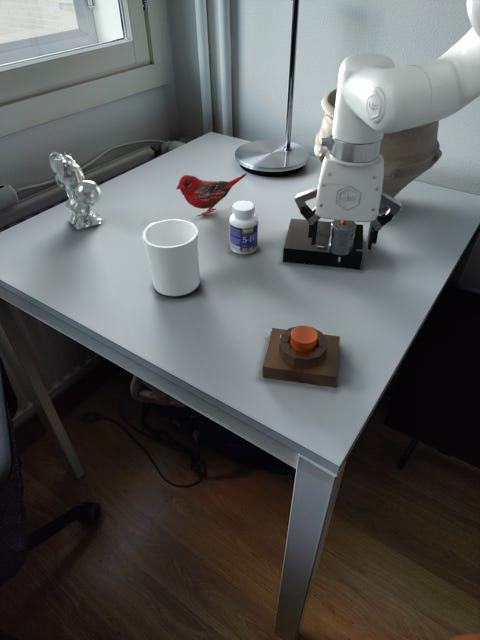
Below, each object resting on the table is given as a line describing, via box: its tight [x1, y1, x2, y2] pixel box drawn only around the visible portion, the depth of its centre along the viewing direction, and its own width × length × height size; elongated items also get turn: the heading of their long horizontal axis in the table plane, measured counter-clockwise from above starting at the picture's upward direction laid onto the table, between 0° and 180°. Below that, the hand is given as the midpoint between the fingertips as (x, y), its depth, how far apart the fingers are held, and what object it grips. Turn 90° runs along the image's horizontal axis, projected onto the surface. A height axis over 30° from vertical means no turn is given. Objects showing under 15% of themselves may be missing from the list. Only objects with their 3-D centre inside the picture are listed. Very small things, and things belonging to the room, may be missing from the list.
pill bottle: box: [229, 200, 259, 255], centre depth 86 cm, size 5×5×9 cm
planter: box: [313, 88, 443, 211], centre depth 94 cm, size 25×24×22 cm
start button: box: [290, 325, 318, 353], centre depth 63 cm, size 4×4×2 cm
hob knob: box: [328, 220, 357, 255], centre depth 81 cm, size 4×4×5 cm
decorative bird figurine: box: [175, 173, 248, 217], centre depth 97 cm, size 3×18×10 cm, turn 127°
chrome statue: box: [48, 151, 103, 230], centre depth 92 cm, size 15×6×15 cm, turn 39°
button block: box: [262, 325, 341, 388], centre depth 65 cm, size 10×8×4 cm
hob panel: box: [282, 218, 365, 271], centre depth 86 cm, size 14×14×3 cm
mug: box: [141, 218, 201, 299], centre depth 78 cm, size 11×9×10 cm
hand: (341, 243), depth 82 cm, fingers open, 9 cm apart
